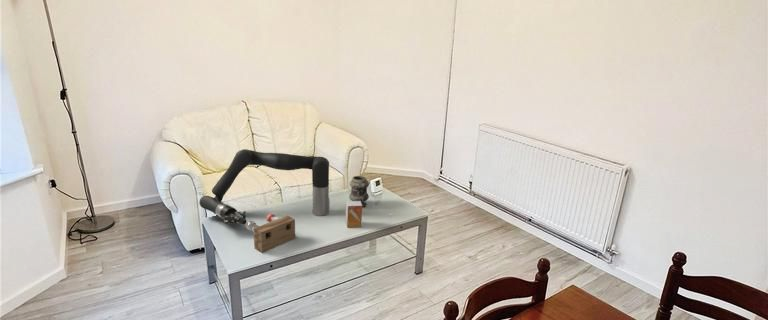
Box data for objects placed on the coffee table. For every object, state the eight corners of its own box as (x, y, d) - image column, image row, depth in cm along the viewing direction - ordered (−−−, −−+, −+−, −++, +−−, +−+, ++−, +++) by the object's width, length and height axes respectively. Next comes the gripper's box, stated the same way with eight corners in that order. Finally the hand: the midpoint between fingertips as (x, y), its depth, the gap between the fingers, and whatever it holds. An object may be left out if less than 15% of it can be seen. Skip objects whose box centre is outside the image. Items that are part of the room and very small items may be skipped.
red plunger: (266, 222, 216) (266, 215, 215) (273, 220, 220) (273, 212, 218) (281, 230, 209) (281, 222, 208) (288, 227, 213) (288, 219, 211)
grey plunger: (246, 230, 207) (245, 222, 206) (254, 227, 211) (253, 219, 209) (261, 238, 200) (260, 230, 199) (268, 235, 204) (268, 227, 202)
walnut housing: (254, 248, 202) (253, 228, 199) (287, 234, 218) (287, 215, 214) (262, 253, 199) (261, 232, 196) (295, 238, 214) (294, 219, 211)
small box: (347, 227, 228) (347, 206, 224) (345, 222, 234) (346, 201, 230) (361, 227, 230) (362, 205, 226) (359, 222, 236) (360, 200, 232)
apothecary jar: (359, 199, 266) (361, 173, 261) (372, 206, 258) (373, 178, 253) (344, 204, 258) (345, 176, 253) (357, 210, 250) (358, 182, 245)
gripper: (213, 209, 215) (232, 219, 205) (236, 202, 225) (256, 211, 215) (215, 222, 217) (233, 233, 207) (237, 214, 227) (256, 225, 217)
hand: (245, 222), depth 211 cm, fingers closed
